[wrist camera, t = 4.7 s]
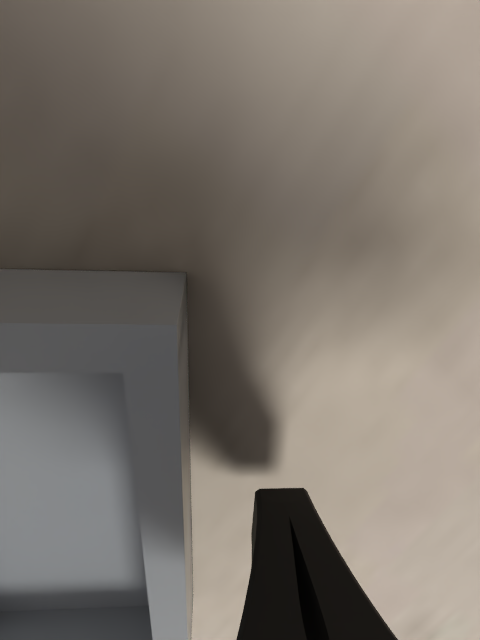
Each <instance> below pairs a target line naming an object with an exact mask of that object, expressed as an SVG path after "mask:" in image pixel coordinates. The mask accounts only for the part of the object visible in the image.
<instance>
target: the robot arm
mask: <svg viewBox="0 0 480 640" xmlns="http://www.w3.org/2000/svg"><path fill="white" fill-rule="evenodd" d="M237 640H398V639H397V638H396V637H395V635H394V634H393V633H392V631H391V630H390V628H389V627H388V626H387V624H386V623H385V622H384V620H383V619H382V617H381V616H380V614H379V613H378V612H377V610H376V609H375V607H374V606H373V604H372V603H371V601H370V600H369V598H368V597H367V595H366V594H365V592H364V591H363V589H362V588H361V586H360V585H359V583H358V582H357V580H356V579H355V577H354V575H353V574H352V572H351V571H350V569H349V567H348V566H347V564H346V562H345V561H344V559H343V557H342V556H341V554H340V553H339V551H338V549H337V547H336V546H335V544H334V542H333V541H332V539H331V537H330V535H329V533H328V532H327V530H326V528H325V526H324V524H323V523H322V521H321V519H320V517H319V515H318V513H317V511H316V509H315V507H314V505H313V503H312V501H311V499H310V497H309V495H308V492H307V491H306V490H305V489H304V488H280V489H259V490H257V491H256V492H255V501H254V512H253V523H252V568H251V574H250V579H249V585H248V590H247V595H246V600H245V605H244V610H243V614H242V619H241V623H240V628H239V632H238V636H237Z"/></svg>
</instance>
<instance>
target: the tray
mask: <svg viewBox="0 0 480 640" xmlns="http://www.w3.org/2000/svg"><path fill="white" fill-rule="evenodd" d="M192 610H193V564H192V516H191V469H190V421H189V373H188V325H187V277H186V273H181V272H130V271H80V270H29V269H0V640H191V632H192Z"/></svg>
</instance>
